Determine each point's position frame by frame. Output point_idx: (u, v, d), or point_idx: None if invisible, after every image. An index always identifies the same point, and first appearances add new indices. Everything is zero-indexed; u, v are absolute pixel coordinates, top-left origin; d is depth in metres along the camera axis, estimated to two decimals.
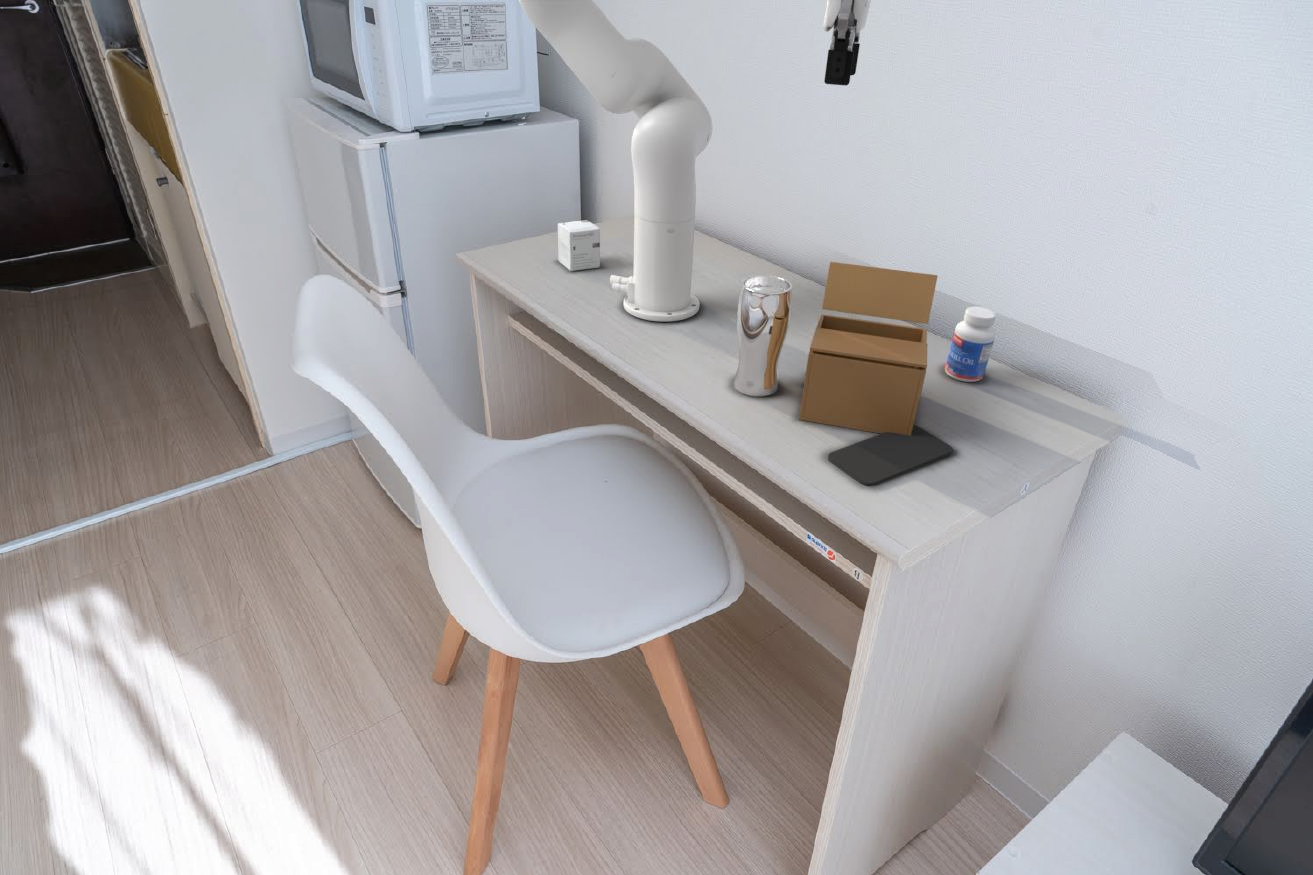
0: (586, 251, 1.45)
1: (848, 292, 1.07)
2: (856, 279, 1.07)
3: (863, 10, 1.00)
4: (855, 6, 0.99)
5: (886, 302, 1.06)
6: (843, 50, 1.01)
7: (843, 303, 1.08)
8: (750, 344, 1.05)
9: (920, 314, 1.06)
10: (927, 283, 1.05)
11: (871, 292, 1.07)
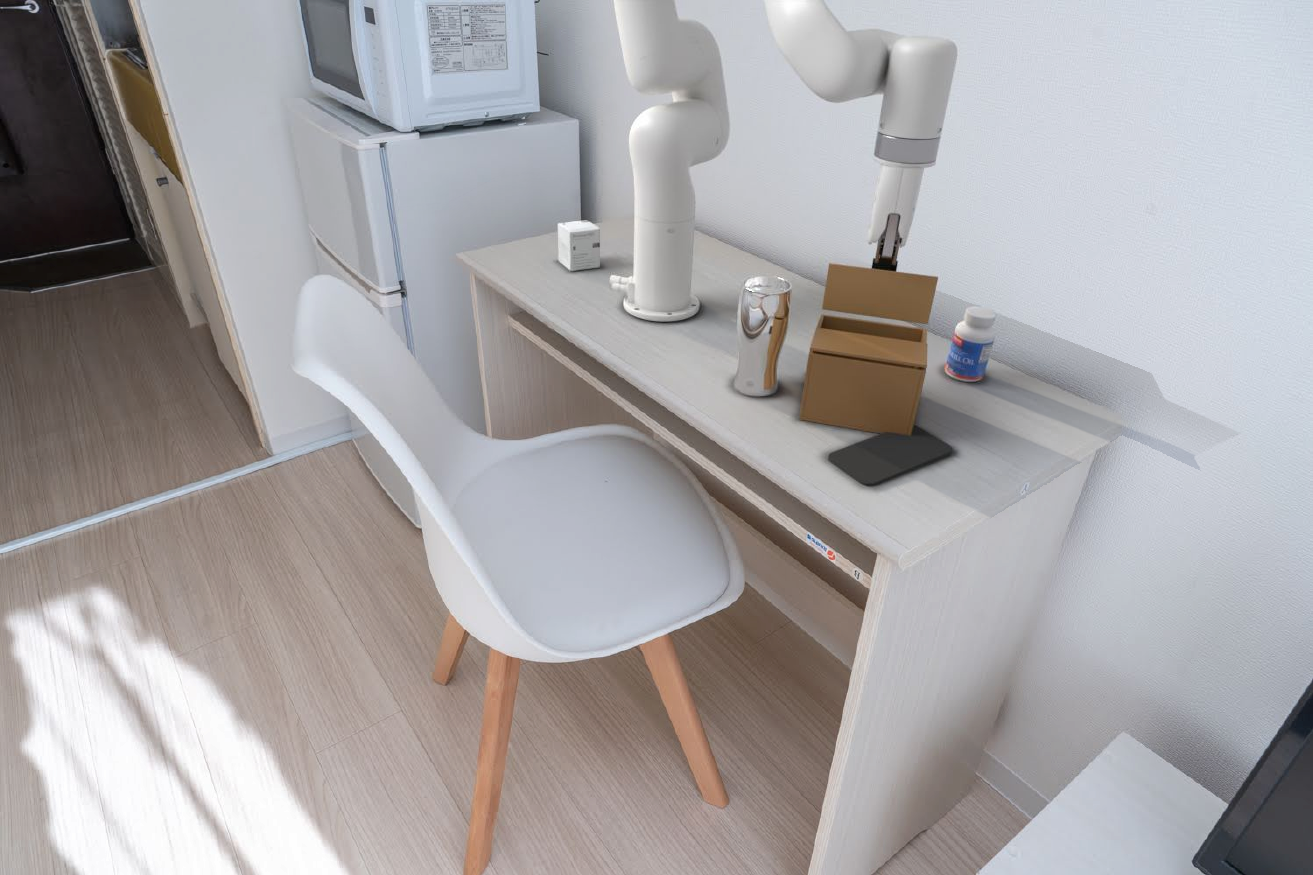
0: (586, 251, 1.45)
1: (848, 293, 1.07)
2: (856, 281, 1.06)
3: (908, 229, 0.99)
4: (900, 226, 0.99)
5: (886, 303, 1.06)
6: (887, 264, 1.05)
7: (843, 304, 1.08)
8: (750, 344, 1.05)
9: (920, 315, 1.05)
10: (927, 285, 1.03)
11: (871, 294, 1.06)
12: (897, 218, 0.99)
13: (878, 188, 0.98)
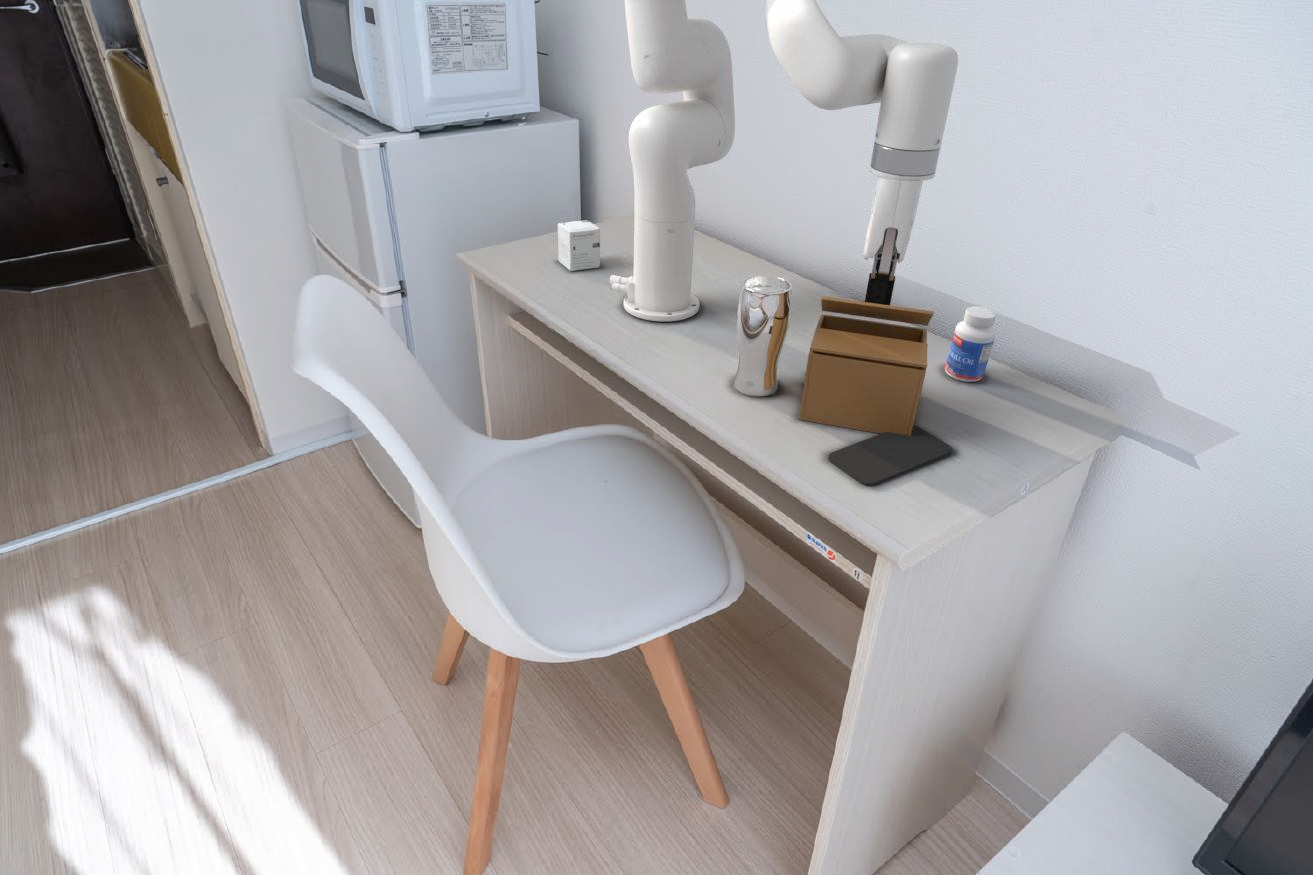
0: (586, 251, 1.45)
1: (845, 309, 1.05)
2: (851, 306, 1.04)
3: (906, 244, 0.95)
4: (898, 241, 0.94)
5: (884, 316, 1.05)
6: (884, 280, 1.00)
7: (841, 311, 1.07)
8: (750, 344, 1.05)
9: (919, 322, 1.05)
10: (923, 315, 1.01)
11: (867, 312, 1.04)
12: (894, 233, 0.95)
13: (875, 201, 0.94)
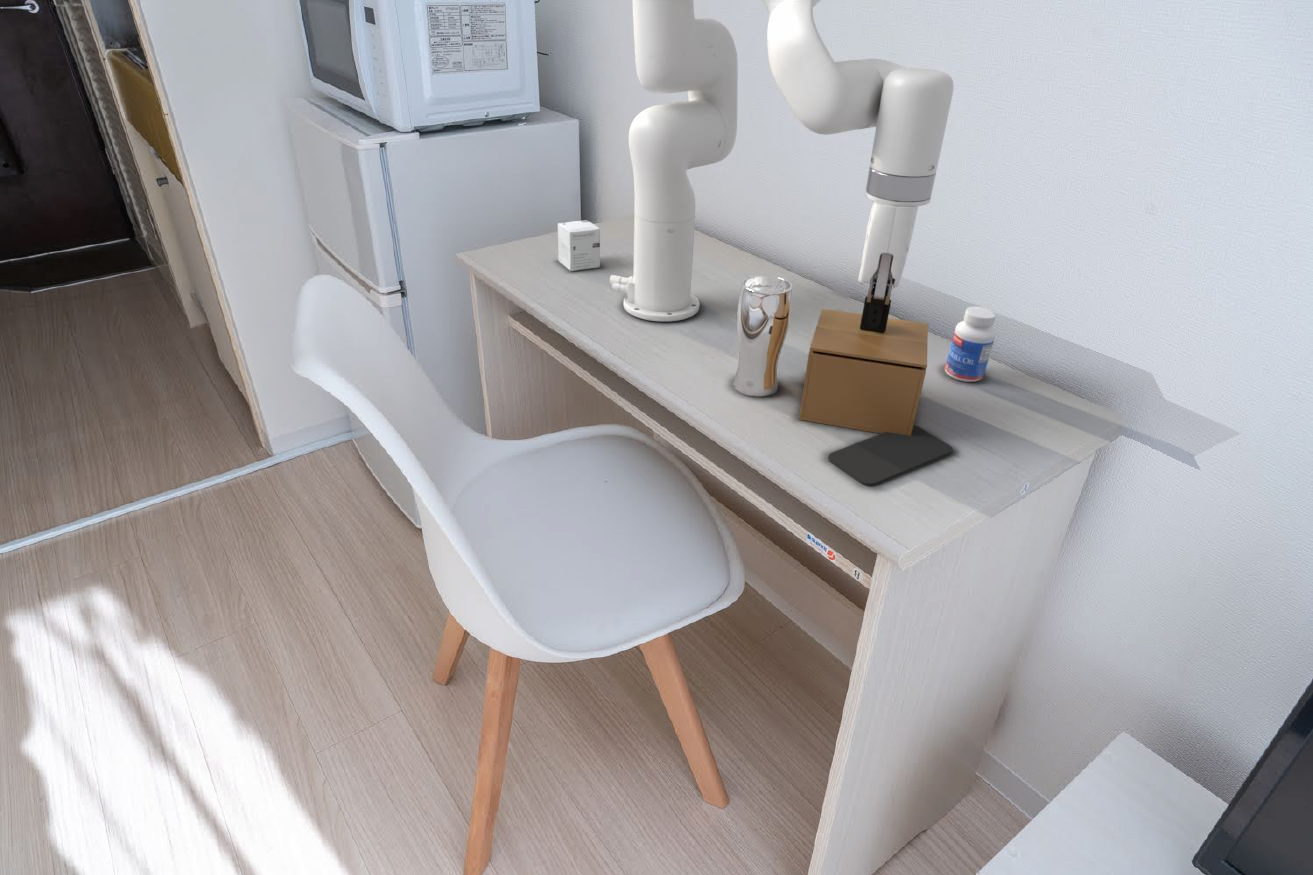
0: (586, 251, 1.45)
1: None
2: None
3: (901, 269, 0.94)
4: (893, 266, 0.94)
5: None
6: (880, 304, 1.00)
7: None
8: (750, 344, 1.05)
9: None
10: None
11: None
12: (890, 258, 0.94)
13: (870, 227, 0.93)
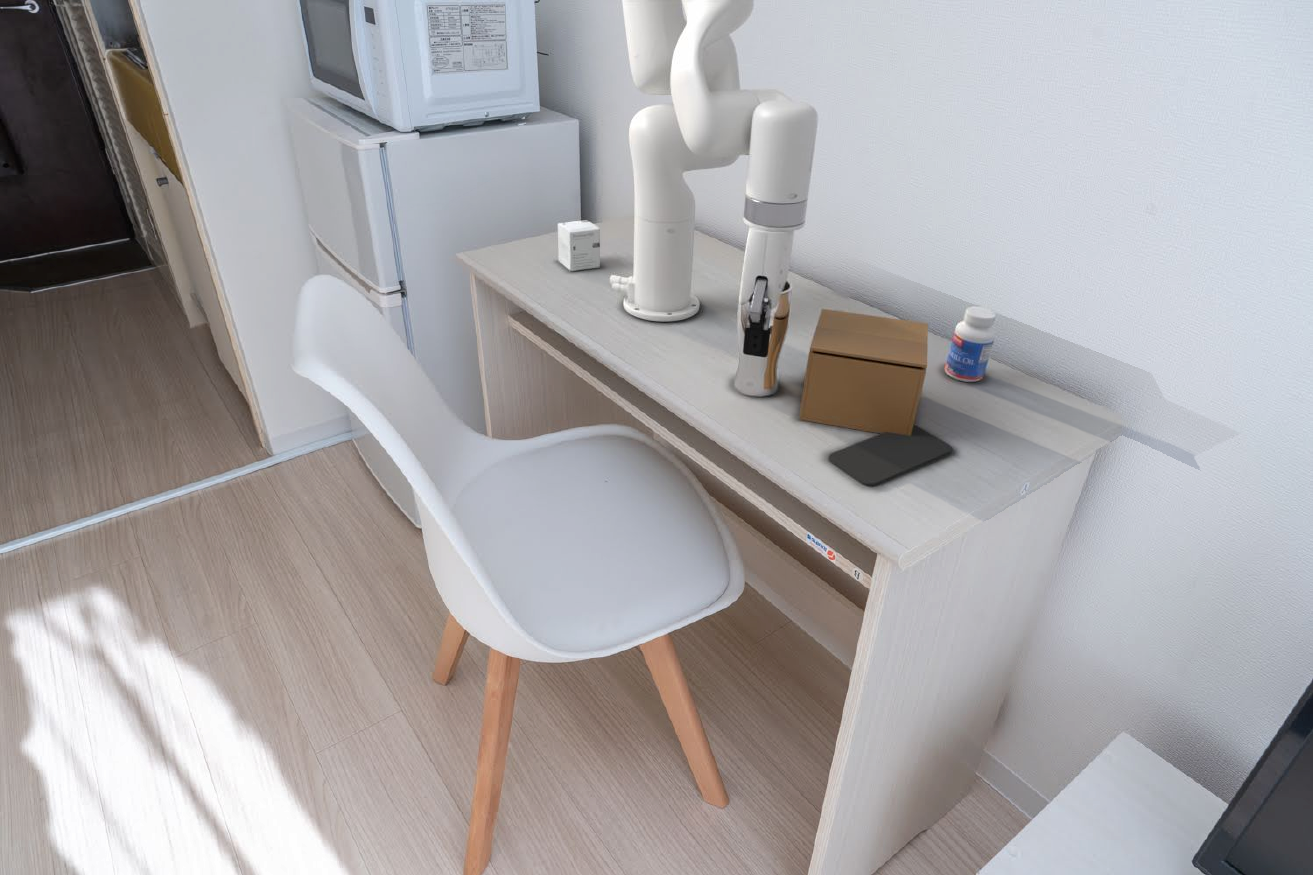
0: (586, 251, 1.45)
1: None
2: None
3: (777, 291, 0.98)
4: (769, 288, 0.98)
5: None
6: (759, 329, 1.01)
7: None
8: None
9: None
10: None
11: None
12: (766, 276, 0.98)
13: (745, 250, 0.97)
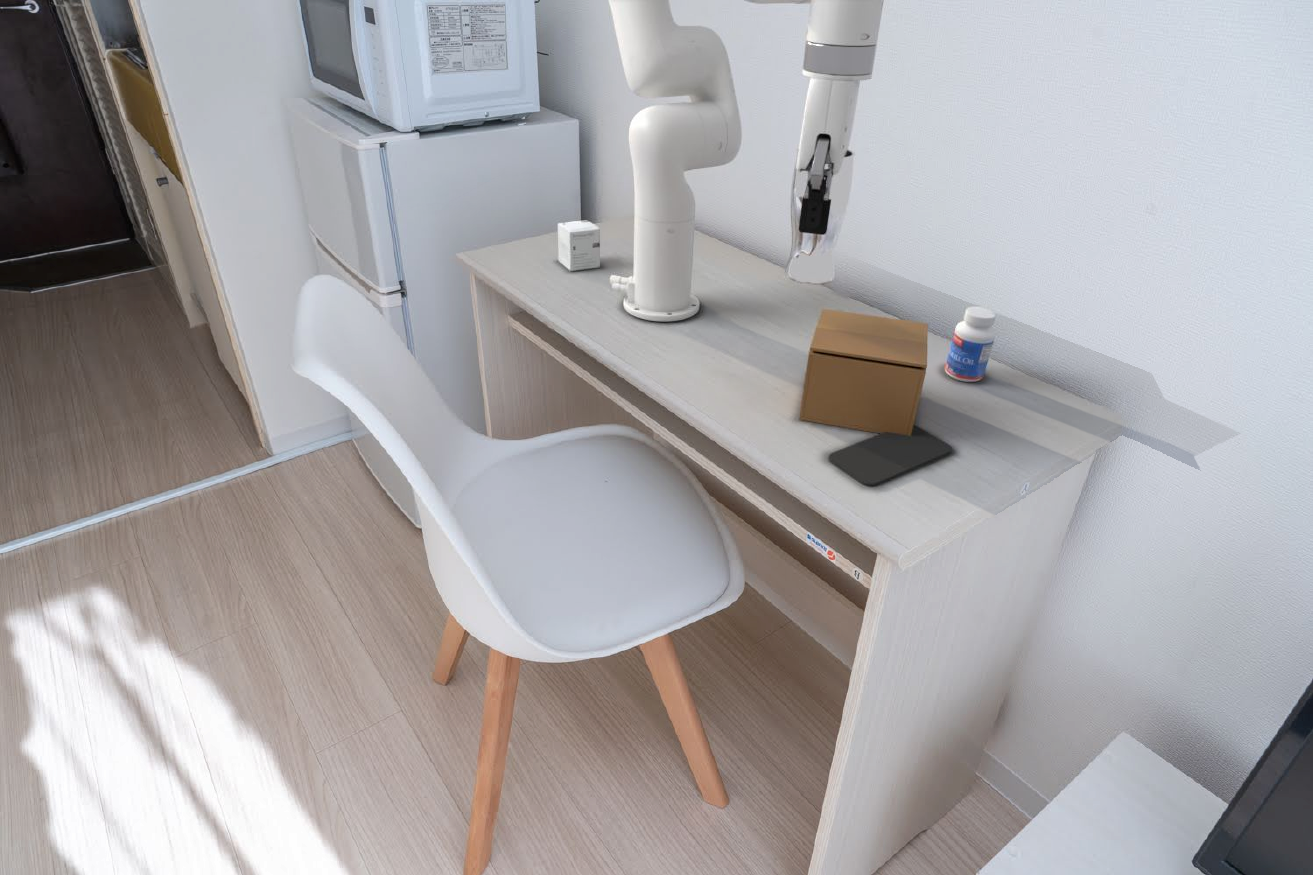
0: (586, 251, 1.45)
1: None
2: None
3: (841, 152, 0.87)
4: (831, 148, 0.87)
5: None
6: (819, 199, 0.90)
7: None
8: None
9: None
10: None
11: None
12: (828, 135, 0.87)
13: (806, 105, 0.86)
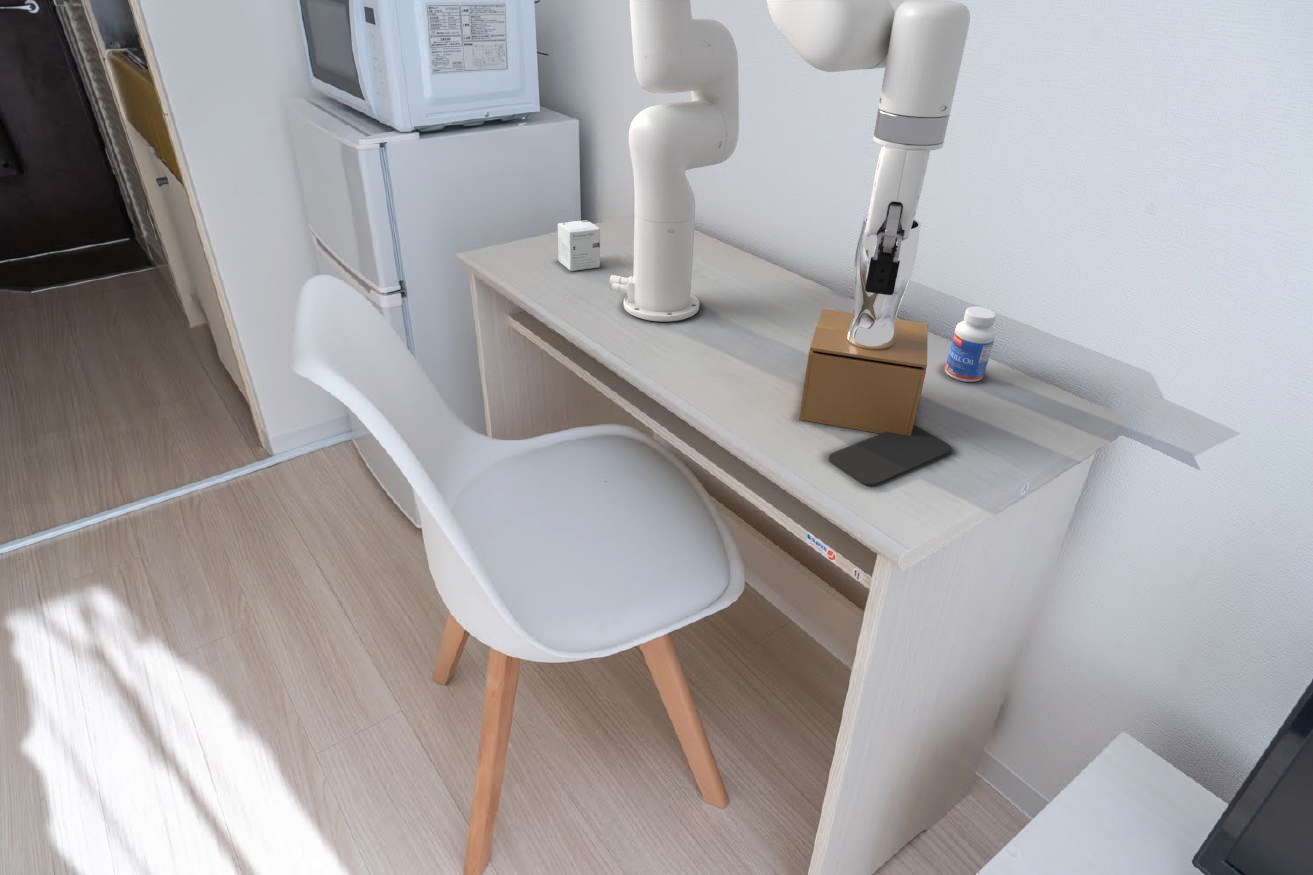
0: (586, 251, 1.45)
1: None
2: None
3: (912, 220, 0.88)
4: (903, 216, 0.87)
5: None
6: (888, 261, 0.89)
7: None
8: None
9: None
10: None
11: None
12: None
13: (878, 173, 0.87)
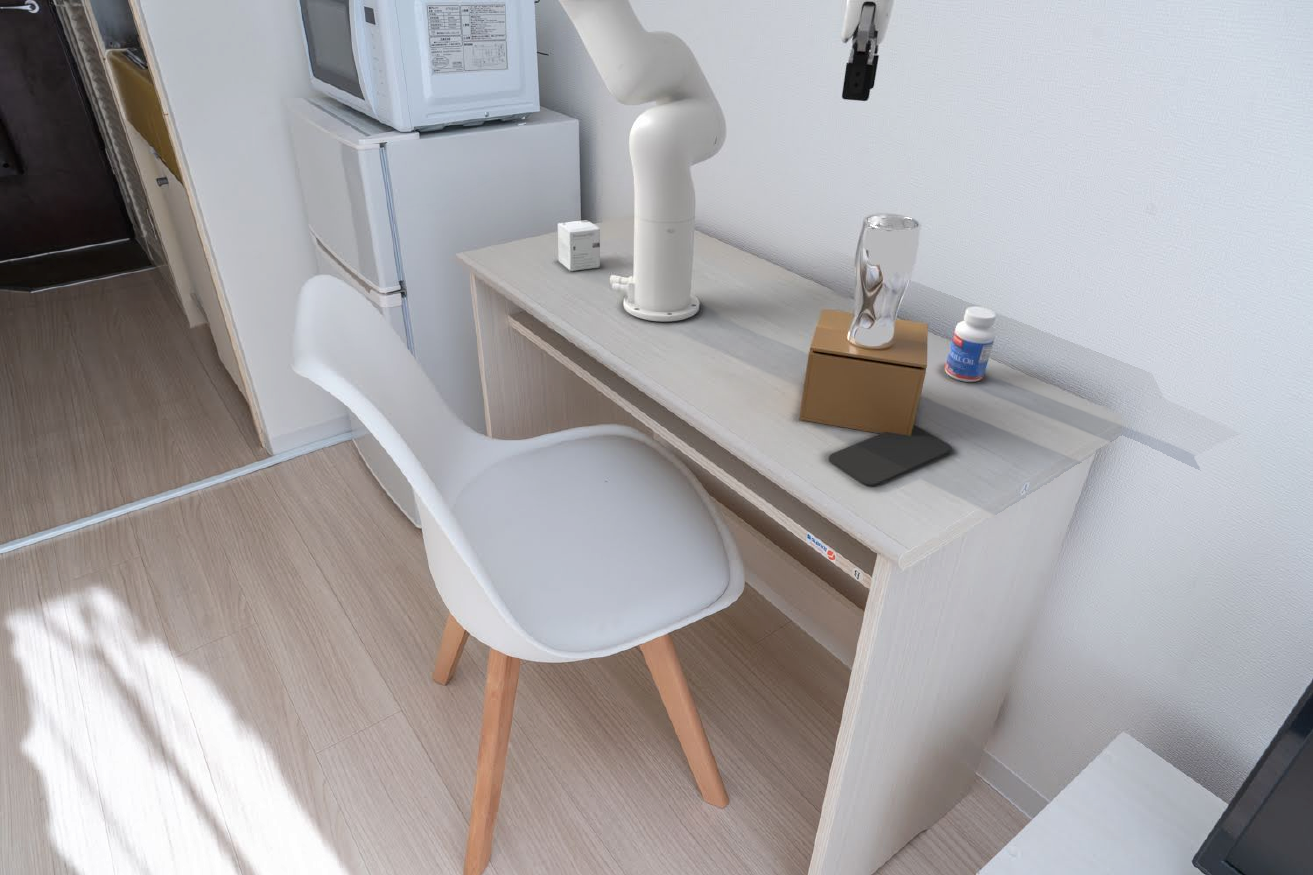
0: (586, 251, 1.45)
1: None
2: None
3: (884, 21, 0.93)
4: (876, 16, 0.92)
5: None
6: (863, 63, 0.94)
7: None
8: (872, 289, 0.94)
9: None
10: None
11: None
12: (874, 1, 0.92)
13: None
